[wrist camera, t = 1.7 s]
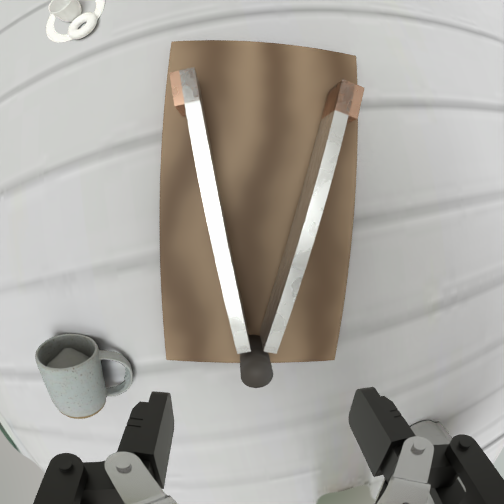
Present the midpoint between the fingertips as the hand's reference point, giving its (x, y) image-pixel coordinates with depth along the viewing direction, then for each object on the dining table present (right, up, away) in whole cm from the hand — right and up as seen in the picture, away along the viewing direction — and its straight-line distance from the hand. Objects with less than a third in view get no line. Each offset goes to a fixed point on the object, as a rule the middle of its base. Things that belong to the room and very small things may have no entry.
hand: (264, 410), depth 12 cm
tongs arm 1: (+4, +10, +16) cm, 19 cm away
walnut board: (0, +11, +17) cm, 20 cm away
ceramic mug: (-19, -6, +19) cm, 28 cm away
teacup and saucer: (-22, +31, +11) cm, 40 cm away
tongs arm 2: (-4, +10, +15) cm, 19 cm away
